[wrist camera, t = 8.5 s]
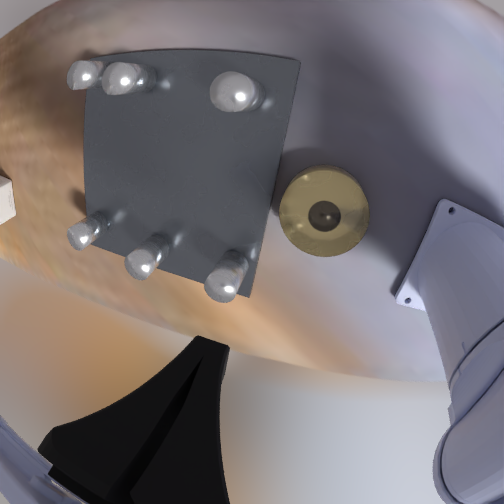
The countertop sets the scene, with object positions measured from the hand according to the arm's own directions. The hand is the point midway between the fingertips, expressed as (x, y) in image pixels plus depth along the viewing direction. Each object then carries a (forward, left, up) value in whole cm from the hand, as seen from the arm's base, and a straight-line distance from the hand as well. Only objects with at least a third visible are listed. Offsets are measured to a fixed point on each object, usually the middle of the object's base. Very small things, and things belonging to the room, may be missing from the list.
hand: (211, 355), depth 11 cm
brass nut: (-3, -4, -10) cm, 11 cm away
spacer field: (+7, -4, -9) cm, 13 cm away
